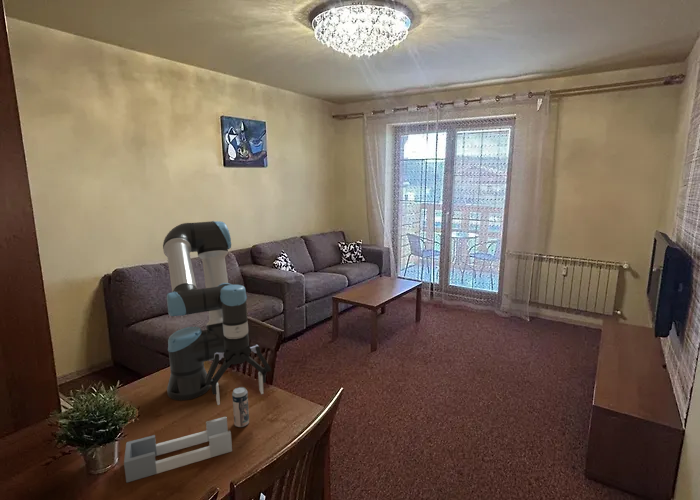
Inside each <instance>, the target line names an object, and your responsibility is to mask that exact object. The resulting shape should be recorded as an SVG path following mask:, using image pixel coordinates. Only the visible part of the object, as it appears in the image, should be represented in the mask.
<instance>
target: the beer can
mask: <svg viewBox="0 0 700 500" xmlns="http://www.w3.org/2000/svg"><path fill="white" fill-rule="evenodd" d="M248 395H249V394H248V390H247V389H246V387H244V386H238V387H236V388H234V389H233V391H232V393H231V397H232V409H233V423H234V426H235V427H238V428H244V427H246V426H248V425H249V423H250V413H249V396H248Z"/></svg>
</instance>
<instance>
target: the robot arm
mask: <svg viewBox="0 0 700 500" xmlns="http://www.w3.org/2000/svg"><path fill="white" fill-rule="evenodd" d="M230 234H231V233H230V230H229V228H228V225H227V224H226V223H225V222H223V221H218V220H217V221H214V220H212V221H201V222H199V221H198V222H183V223H180V224H179V225H178V224H177V225H175V227H174V228H172V229H171V230H169V232H168V233H167V234H166V236H165V237H164V240H163V244H162V249H163V254H164V255H165V256H166V257H167V263H168V272H169V278H170V286H171V292H168V293H167V294H166V303H167V304H166V305H167V313H168V315H169V316H170V317H179V316H180V317H181V316H186V315H187V316H189V315H194V314H198V313H200V314H201V313H205V312H206V313H207V312H208V316H209V317H208V318H209V320H208V321H207V323H206V324H205V327H206V329H201V327H199V326H187V327H184V328H181V329H179V330H178V329H177V330H176V331H175V332H173V333H172V334H171V335H170V336H169V337H168V340H167V344H168V345H167V346H168V347H167V351H168V359H169V369H170V370H169V371H170V376H169V380H168V383H167V388H166V390H167V396H168V398H170V399H172V400H173V401H188V400H193V399H197V398H199V397H200V396H203V395H204V394H206V393H207V392H208V391H209V390H210V388H211V392H212V395H214V396H215V399H216V404H217V406H220V405H221V401H220V400H221V399H220V387H219V385H220V384H219V381H220V380H221V378H222V377H223V375H224V374H225V372H226V371H227V370H228V368H230V367H231V365H233V366H234V365H237V364H244V363H245V362H247V363H248V364H249V365H251V366H252V367H253V368H255V369H256V370H257V371H258V373H257V375H258V389H259V390H258V391H259V392H260V395H264V384H266V382H267V377H266V375H267V373H268V372H271V371H272V368H271V366H270V365H269V363H268V362H267V360H266V359H265V357H264V356H263V354H262V352H261V348H260V345H258V344H257V343H256V344H254V345H253V346H250V339H249V338H250V337H249V324H248V323H249V322H248V321H249V319H248V309H247V307H248V304H247V303H248V302H247V299H248V296H247V291H246V287H245V286H244V285H242V284H232V283H229V279H228V278H229V277H228V273H227V271H228V270H227V264H226V256H227V255H228V254H229V250H230V249H231V248H232V238H231V235H230ZM191 253H197V257H198V258H199V259H200V260H201V261H202V266H203V276H204V277H203V278H204V284H205V287H203V288H198V287H197V283H196V282H197V281H196V278H195V273H194V268H193V263H192V259H191ZM251 352H253V353H254V354H256V355H257V357H258V358H259V360H260V361H261V363H262V365H263V366H264V367H263V366H262V365H260V364H259V363H258V362H257V361H256V360H254V359H253V358H252V356H250V354H251ZM224 358H225V360H224V361H223V363H222V364H221V366H220V367H219V368H218V370H217V371H216V369H217V367H218V366H219V363H220V361H221V360H222V359H224ZM209 361H211V365H210V367H209V369H208V371H206V369H205V362H209ZM215 372H216V373H215Z"/></svg>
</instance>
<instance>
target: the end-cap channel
mask: <svg viewBox="0 0 700 500" xmlns="http://www.w3.org/2000/svg"><path fill="white" fill-rule="evenodd" d="M205 425H206V426H205V427H206V430H203V431H200V432H196V433H192V434H188V435H185V436H181V437H178V438H173V439H170V440H166V441H162V442H158V443H156V442H157V441H156V435H155V434H152V435H149V436H145V437H142V438H138V439H134V440H129V441H127V442H126V444H125V450H124V451H125V452H124V457H123V458H124V460H123V468H124V474H125V482H126V484H127V483H130V482H131V483H132V482H134V481H137V480H141V479H143V478H147V477H150V476H153V475H158V474H160V473H163V472H167V471H170V470H174V469H177V468H180V467H184V466H187V465H190V464H193V463H197V462H201V461H204V460H207V459H211V458H213V457H217V456H222V455H225V454H227V453H231V452H233V445H232V444H233V443H232V432H231V430H228V418H227V416H223V417H218V418H215V419H211V420H207V421H205ZM207 442H208V443H209V444H208V446H204V447H200V448H197V449H194V450H191V451H187V452H183V453H180V454H177V455H173V456H169V457H166V458H162V459H159V460H158V459H157V460H156V457H157V456H161V455H165V454H168V453H173V452H175V451H179V450H182V449H185V448H190V447H193V446H197V445H200V444H203V443H207Z"/></svg>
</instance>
